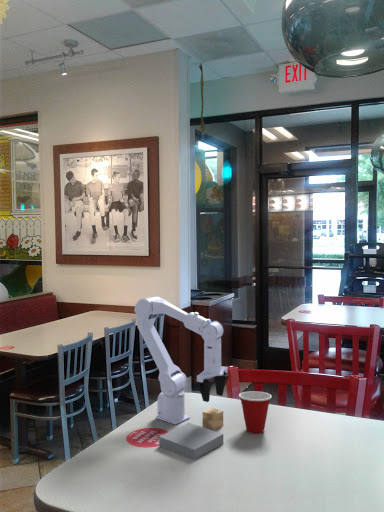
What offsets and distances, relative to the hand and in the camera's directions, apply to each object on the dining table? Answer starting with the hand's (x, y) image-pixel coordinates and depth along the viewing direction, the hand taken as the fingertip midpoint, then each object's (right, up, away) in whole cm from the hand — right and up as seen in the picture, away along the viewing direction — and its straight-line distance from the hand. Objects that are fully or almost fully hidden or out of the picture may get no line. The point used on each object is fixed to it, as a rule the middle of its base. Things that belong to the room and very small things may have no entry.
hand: (212, 398), depth 160 cm
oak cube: (0, -10, 0) cm, 10 cm away
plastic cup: (+14, -10, -3) cm, 17 cm away
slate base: (-7, -10, -14) cm, 19 cm away
